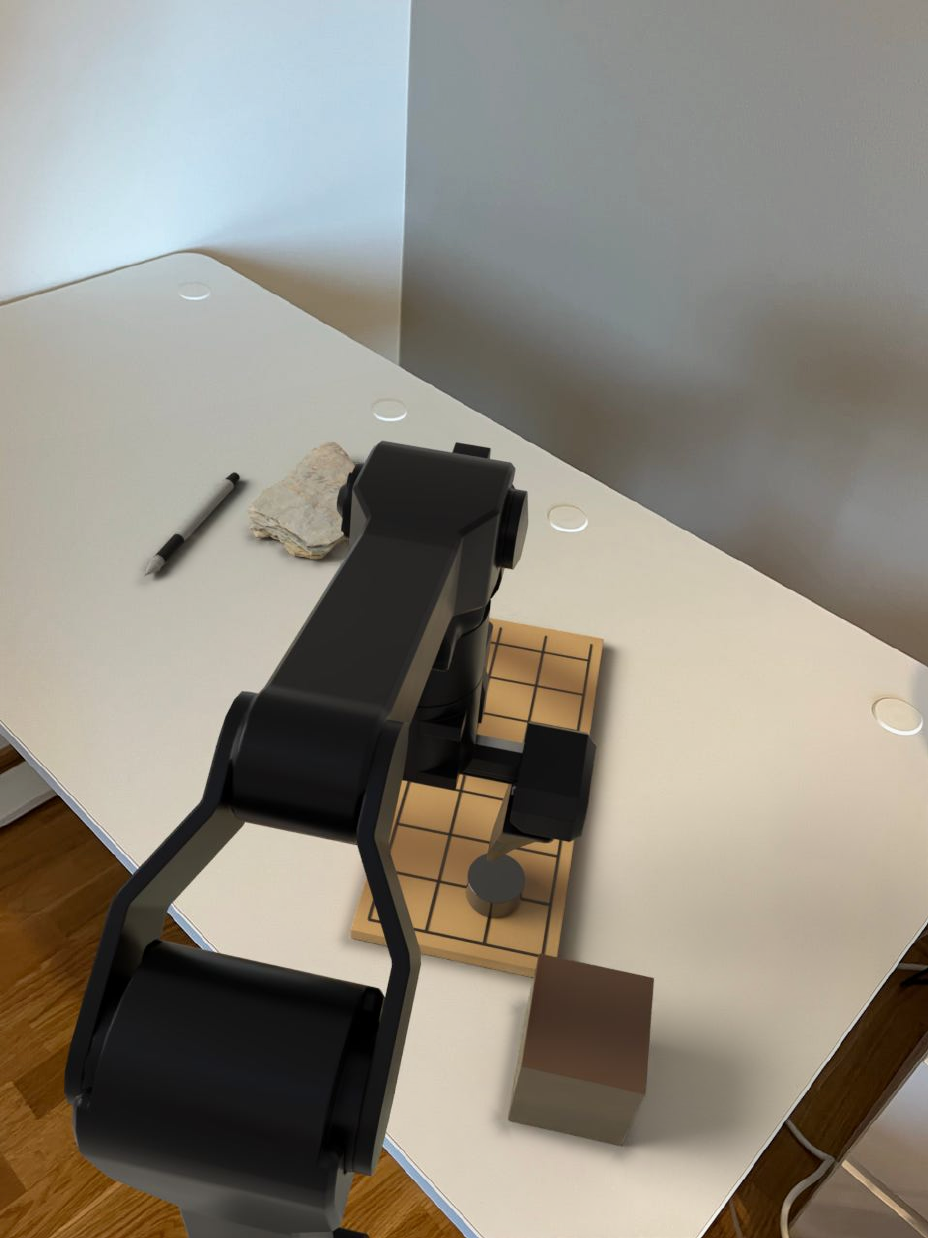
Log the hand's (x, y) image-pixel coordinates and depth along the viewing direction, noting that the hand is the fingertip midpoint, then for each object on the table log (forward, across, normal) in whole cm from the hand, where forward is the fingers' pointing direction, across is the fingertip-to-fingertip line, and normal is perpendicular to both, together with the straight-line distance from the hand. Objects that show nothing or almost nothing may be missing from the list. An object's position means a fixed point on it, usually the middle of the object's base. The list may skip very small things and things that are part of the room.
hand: (416, 839), depth 65 cm
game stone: (+11, -5, -4) cm, 12 cm away
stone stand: (+12, -12, +7) cm, 18 cm away
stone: (+12, +20, -42) cm, 48 cm away
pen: (+12, +30, -37) cm, 49 cm away
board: (+12, -3, -15) cm, 19 cm away
